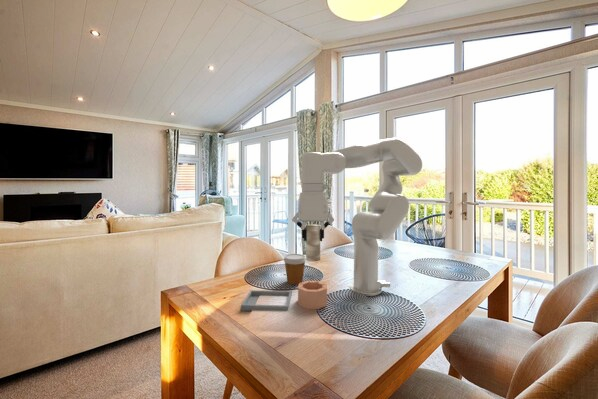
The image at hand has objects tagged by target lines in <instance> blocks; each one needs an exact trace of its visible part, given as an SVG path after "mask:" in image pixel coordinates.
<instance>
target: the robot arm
mask: <svg viewBox="0 0 598 399" xmlns="http://www.w3.org/2000/svg"><path fill="white" fill-rule="evenodd" d="M381 162H382V175H383V181H382V184H381V185H380V187H379V188H378V190H377V191H376V193H375V194H374V195H373V196H372V198H371V200H370V201H369V203H368V210H369V211H370V212H369V211H361V212H357V213H356V214H354V216H353V217H352V219H351V231H352V234H353V235H352V236H353V283H351V284H350V285H349V289H350V290H351V291H353V292H354V293H358V294H363V295H365V296H366V297H374V296H379V295H380V294H382V292H383V289H382V288H391V282H388V281H387V282H386V280H379V244H378V240H380V241H381V240H382V241H386V240H389V239H390V238H392V237H393V236H394V234H395V233H396V232H397V230H398V229H399V228H400V226H401V224H402V223H403V221H404V220H405V219H406V217H407V215H408V214H409V213H408V212H409V208H410V203H409V200H408V197H407V196H405V195H404V194H402V192H403V184H402V182H401V179H400V176H404V177H405V176H416V175H418V174H419V173H420V172H421V170H422V168H423V161H422V159H421V156H420V155H419V154H418V153H417V152H416V151H415V150H414V148H412V147H411V146H410V145H409V144H408V143H406V142H405V141H404V140H402V139H401V138H398V137H390V138H384V139H378V140H374V141H369V142H364V143H360V144H356V145H352V146H348V147H345V148H341V149H337V150H331V151H327V152H323V153H321V152H319V151H317V152H315V151H313V152H312V151H311V152H310V151H309V152H304V153H303V154H302V156H301V192H299V198H298V207H297V208H298V209H297V210H298V211H297V212H296V213H295V215H293V218H292V219H291V220H292V222H293V223H294V224H295V225H297V226H298V227H299V228H300V229H301V239H303V242H306V225H307V222H319V225H320V242H323V239H325V229H326V228H327V227H329V225H330V224H332V223H333V222H334V221H335V218H334V217H333V216H332V215H331V213H330V212H329V211H328V210H329V209H328V197H327V192H326V191H325V190H328V189H329V185H328V184H325V181H324V178H325V177H324V176H325V175H336V174H340V173H342V172H343V171H344V170H345V169H356V168H361V167H366V166H370V165H372V164H376V163H381ZM325 221H326V222H325Z"/></svg>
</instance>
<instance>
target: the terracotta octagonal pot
mask: <svg viewBox="0 0 598 399" xmlns="http://www.w3.org/2000/svg"><path fill="white" fill-rule="evenodd" d="M327 286H328V285H327V283H325V282H322V281H320V280H305V281H303V282H302V283H299V284H298V286H297V306H300V307H301V308H303V309H307V310H310V309H311V310H320V309H322V308H324V307H327V306H328V287H327Z"/></svg>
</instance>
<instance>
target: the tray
mask: <svg viewBox="0 0 598 399" xmlns="http://www.w3.org/2000/svg"><path fill="white" fill-rule="evenodd" d="M263 295H264V296H266V295H267V296H268V295H269V296H288V297H287V301H286V304H285V305H281V304H257V302H258V300H259V298H260V296H263ZM292 296H293V291H292V290H291V291H290V290H288V291H287V290H286V291H285V290H256V289H254V290H253V289H252V290H249V292H248V293H247V296H246V297H245V298H244V300H243V301H242V303H241V304H240V305H241V306H240V307H241V308H240V309H241V310H240V311H241V312H244V313H251V312H253V310H268V311H270V310H273V311H274V310H275V311H289V308H290V304H291V301H292V300H291V299H292Z"/></svg>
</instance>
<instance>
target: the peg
mask: <svg viewBox="0 0 598 399" xmlns="http://www.w3.org/2000/svg"><path fill="white" fill-rule="evenodd" d="M305 227H306V241H305V259H306V261H307V262H320V261H321V241H320V229H321V225H320V224H306V225H305Z"/></svg>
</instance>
